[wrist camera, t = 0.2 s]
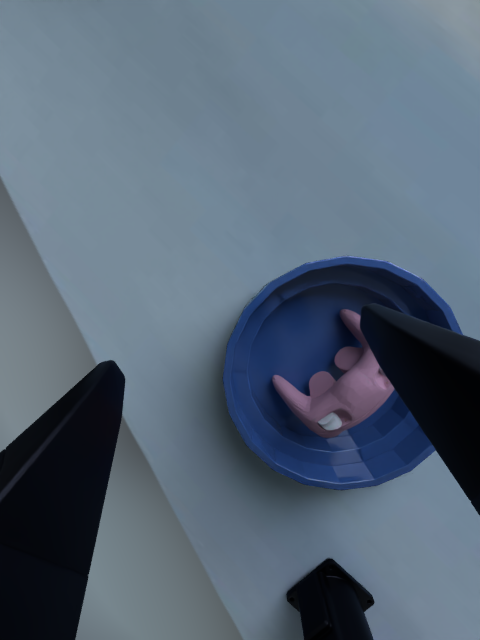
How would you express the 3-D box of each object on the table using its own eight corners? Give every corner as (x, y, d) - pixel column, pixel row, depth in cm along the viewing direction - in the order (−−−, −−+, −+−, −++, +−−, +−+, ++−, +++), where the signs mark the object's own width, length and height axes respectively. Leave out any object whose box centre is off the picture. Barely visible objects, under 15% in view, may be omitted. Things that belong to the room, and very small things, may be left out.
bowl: (469, 361, 23) (521, 378, 19) (323, 489, 25) (339, 531, 21) (328, 219, 22) (348, 202, 18) (189, 363, 24) (175, 380, 20)
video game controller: (291, 398, 26) (334, 461, 19) (263, 378, 23) (301, 441, 17) (365, 329, 24) (434, 372, 18) (343, 300, 22) (413, 338, 16)
